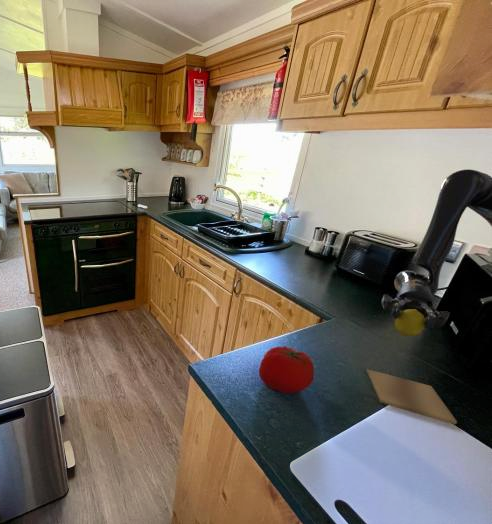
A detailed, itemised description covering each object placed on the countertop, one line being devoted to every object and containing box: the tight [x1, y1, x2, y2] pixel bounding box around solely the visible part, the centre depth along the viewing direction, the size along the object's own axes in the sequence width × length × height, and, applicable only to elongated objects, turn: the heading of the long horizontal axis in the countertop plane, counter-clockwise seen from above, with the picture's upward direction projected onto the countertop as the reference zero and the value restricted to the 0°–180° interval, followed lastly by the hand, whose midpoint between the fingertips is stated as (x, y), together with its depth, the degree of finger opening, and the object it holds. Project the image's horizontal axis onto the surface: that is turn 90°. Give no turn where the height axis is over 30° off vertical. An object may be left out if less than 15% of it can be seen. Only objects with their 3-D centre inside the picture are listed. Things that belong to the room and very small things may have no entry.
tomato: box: [258, 344, 315, 394], centre depth 71 cm, size 11×13×10 cm
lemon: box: [394, 309, 425, 337], centre depth 74 cm, size 6×6×8 cm
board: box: [365, 368, 458, 425], centre depth 72 cm, size 14×12×1 cm
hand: (412, 319), depth 72 cm, fingers closed on lemon, 5 cm apart
